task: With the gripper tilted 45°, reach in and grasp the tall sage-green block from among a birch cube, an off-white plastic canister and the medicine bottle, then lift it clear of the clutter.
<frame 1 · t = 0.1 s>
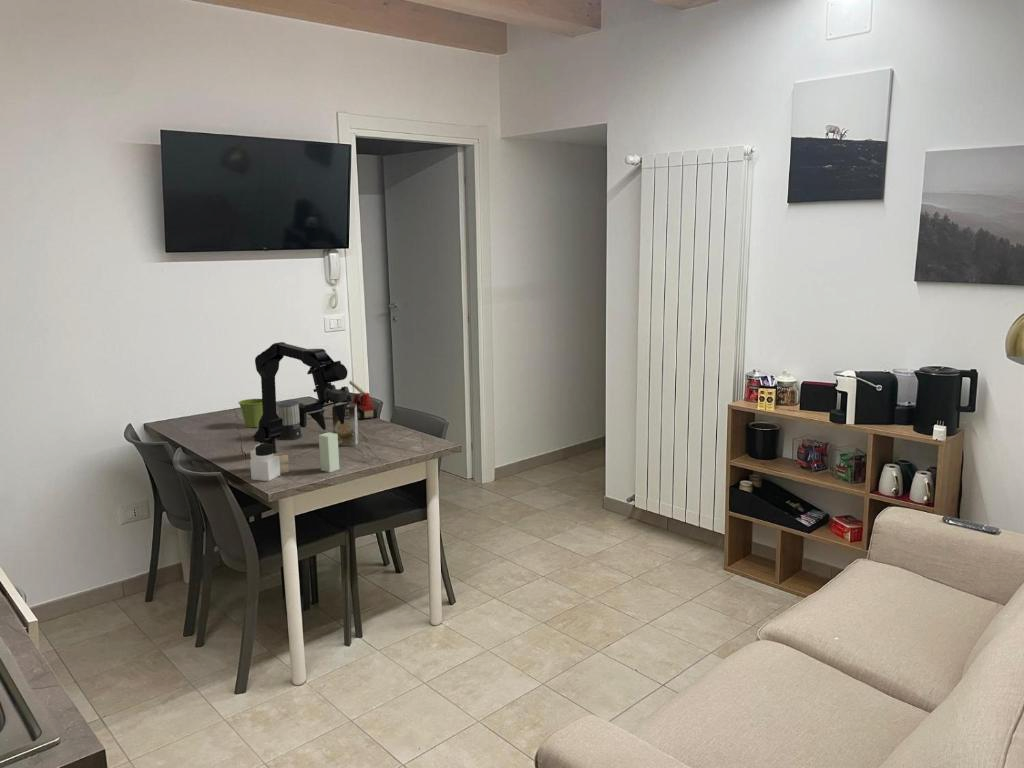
hand: (333, 426, 273), 15 cm above the table, tool pointing down, fingers open, 9 cm apart
coffee box: (346, 444, 308), on the table
sage block: (330, 469, 275), on the table
plant pot: (254, 426, 338), on the table
plastic canister: (259, 469, 276), on the table
toy fire truck: (361, 417, 353), on the table
medicine bottle: (266, 478, 267), on the table
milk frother: (285, 436, 322), on the table
birch block: (280, 471, 274), on the table
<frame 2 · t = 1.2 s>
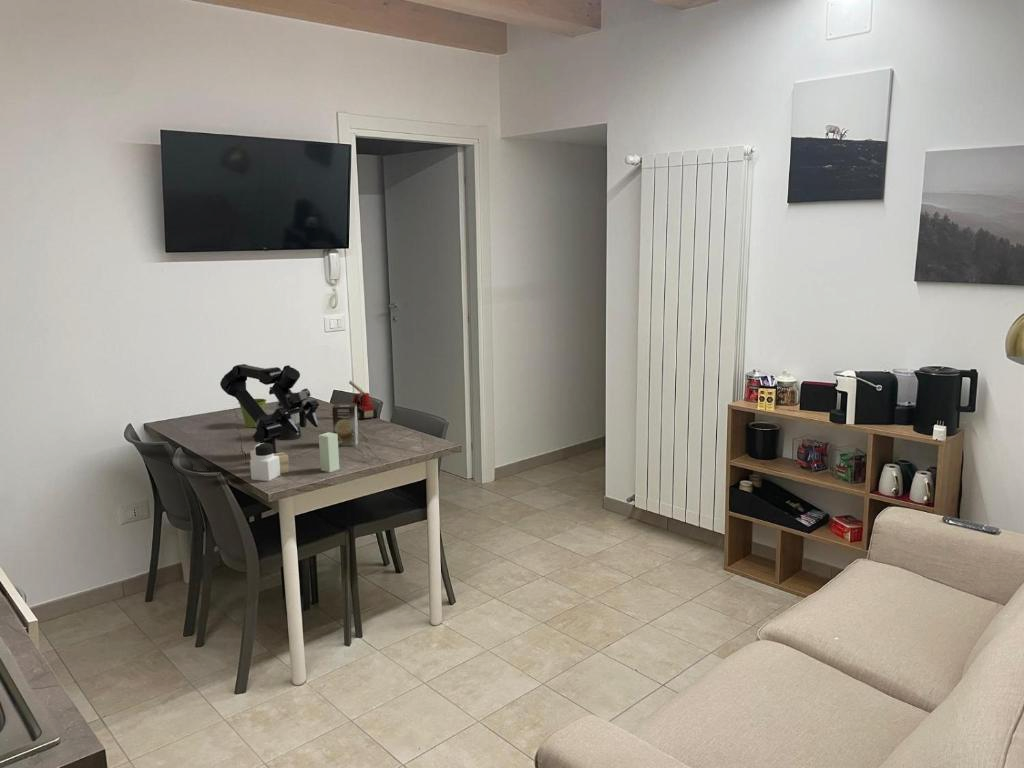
hand: (307, 429, 278), 13 cm above the table, tool tilted 45°, fingers open, 9 cm apart
nothing on the table moved.
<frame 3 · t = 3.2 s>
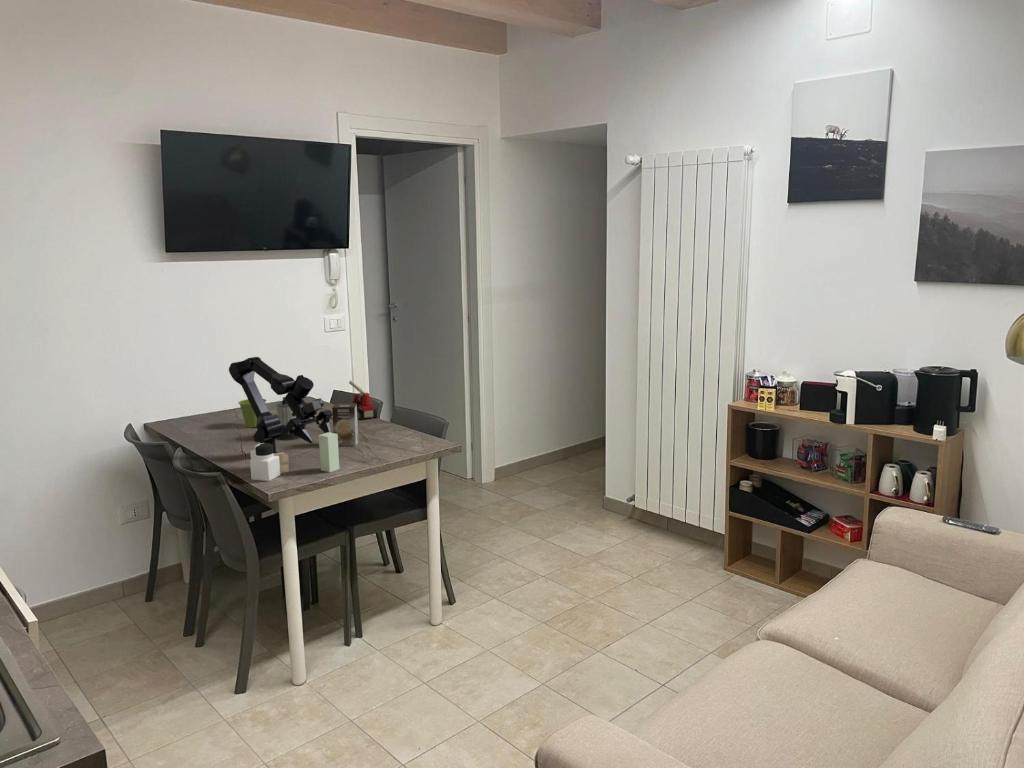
hand: (321, 439, 275), 11 cm above the table, tool tilted 45°, fingers open, 9 cm apart
nothing on the table moved.
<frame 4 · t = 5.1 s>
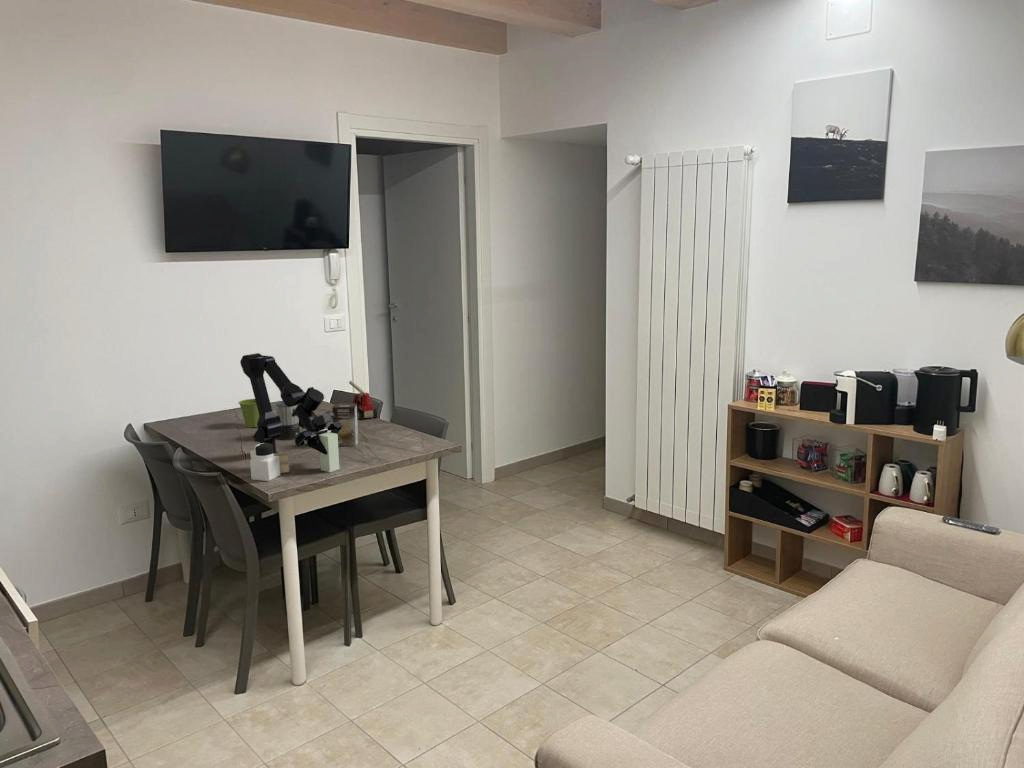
hand: (331, 452, 273), 7 cm above the table, tool tilted 45°, fingers closed on sage block, 5 cm apart
sage block: (330, 469, 275), on the table, touching gripper
everything else where it was.
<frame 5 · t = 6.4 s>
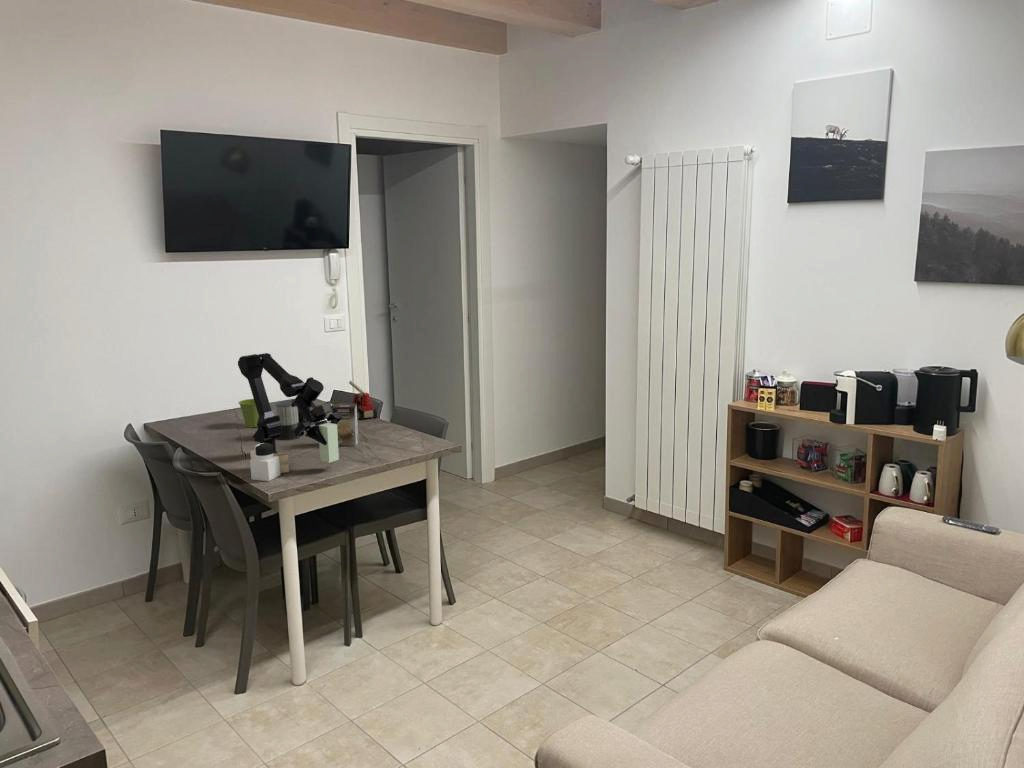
hand: (331, 442, 272), 10 cm above the table, tool tilted 45°, fingers closed on sage block, 5 cm apart
sage block: (329, 460, 274), point 4 cm above the table, touching gripper
everything else where it was.
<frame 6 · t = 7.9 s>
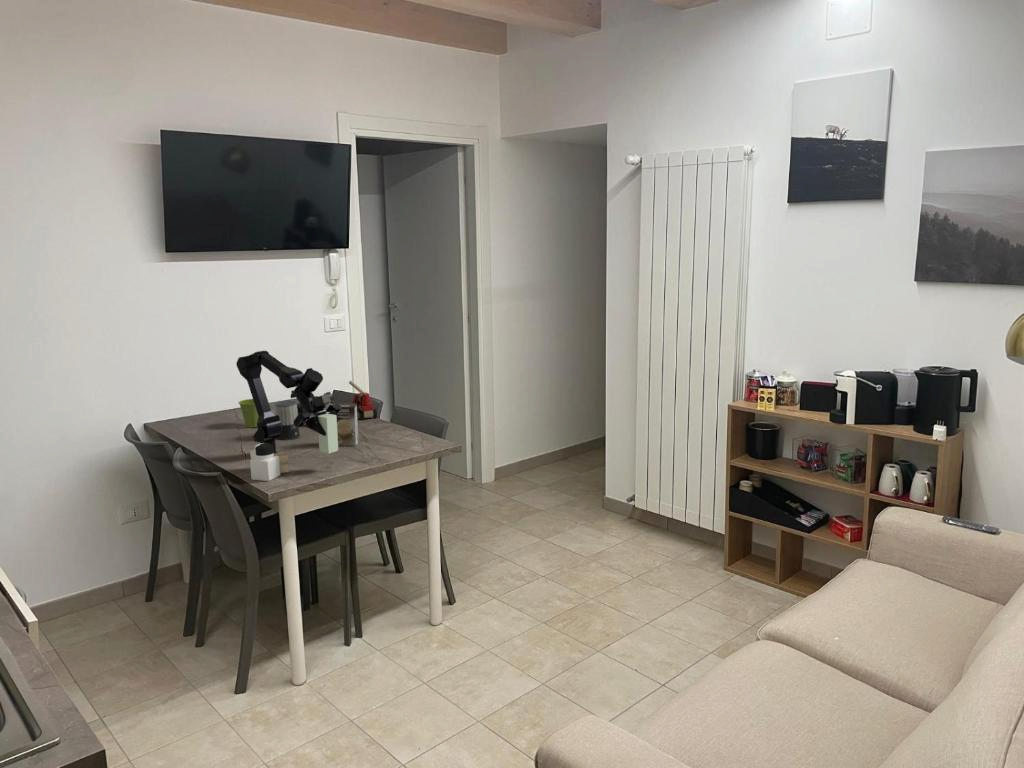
hand: (330, 433, 271), 13 cm above the table, tool tilted 45°, fingers closed on sage block, 5 cm apart
sage block: (329, 451, 273), point 7 cm above the table, touching gripper
everything else where it was.
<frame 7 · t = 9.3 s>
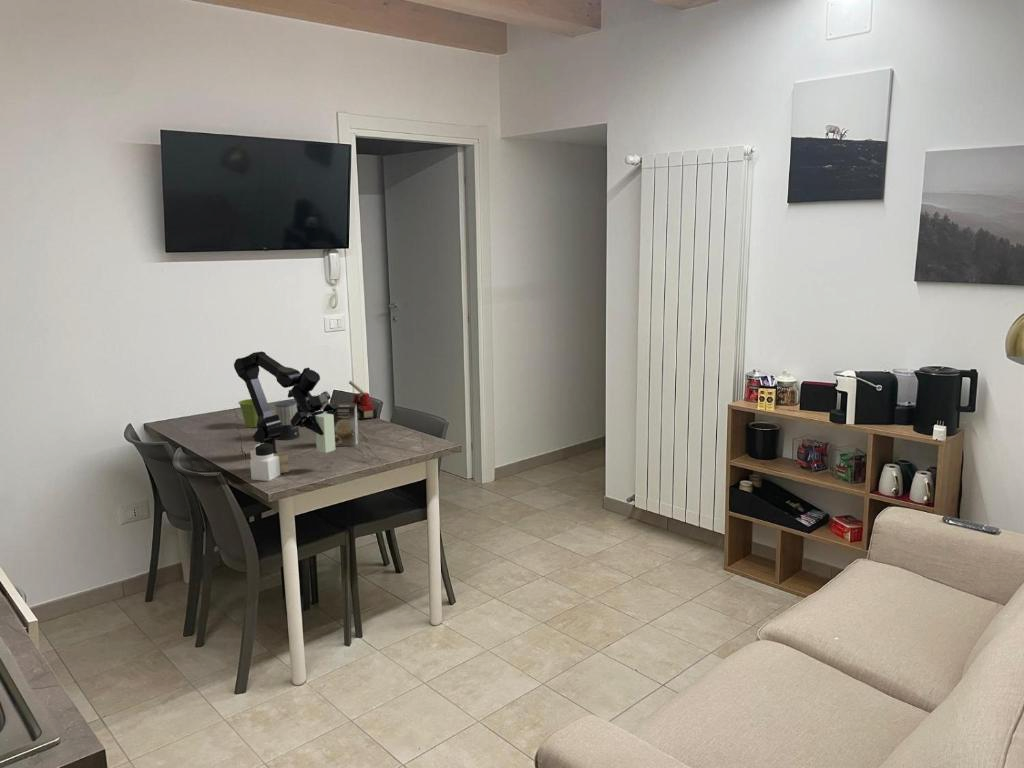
hand: (327, 433, 272), 13 cm above the table, tool tilted 45°, fingers closed on sage block, 5 cm apart
sage block: (326, 450, 274), point 7 cm above the table, touching gripper
everything else where it was.
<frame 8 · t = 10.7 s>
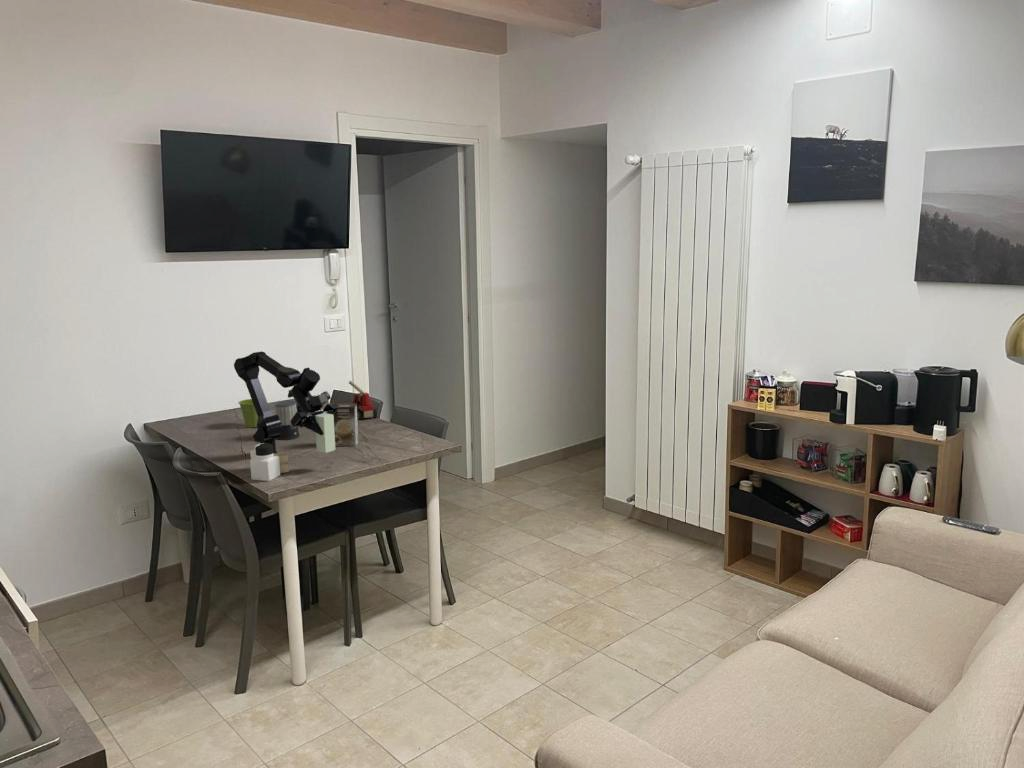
hand: (327, 433, 272), 13 cm above the table, tool tilted 45°, fingers closed on sage block, 5 cm apart
sage block: (326, 450, 274), point 7 cm above the table, touching gripper
at the end: the gripper is holding sage block; sage block point 6.9 cm above the table; medicine bottle moved 0.2 cm from its start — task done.
